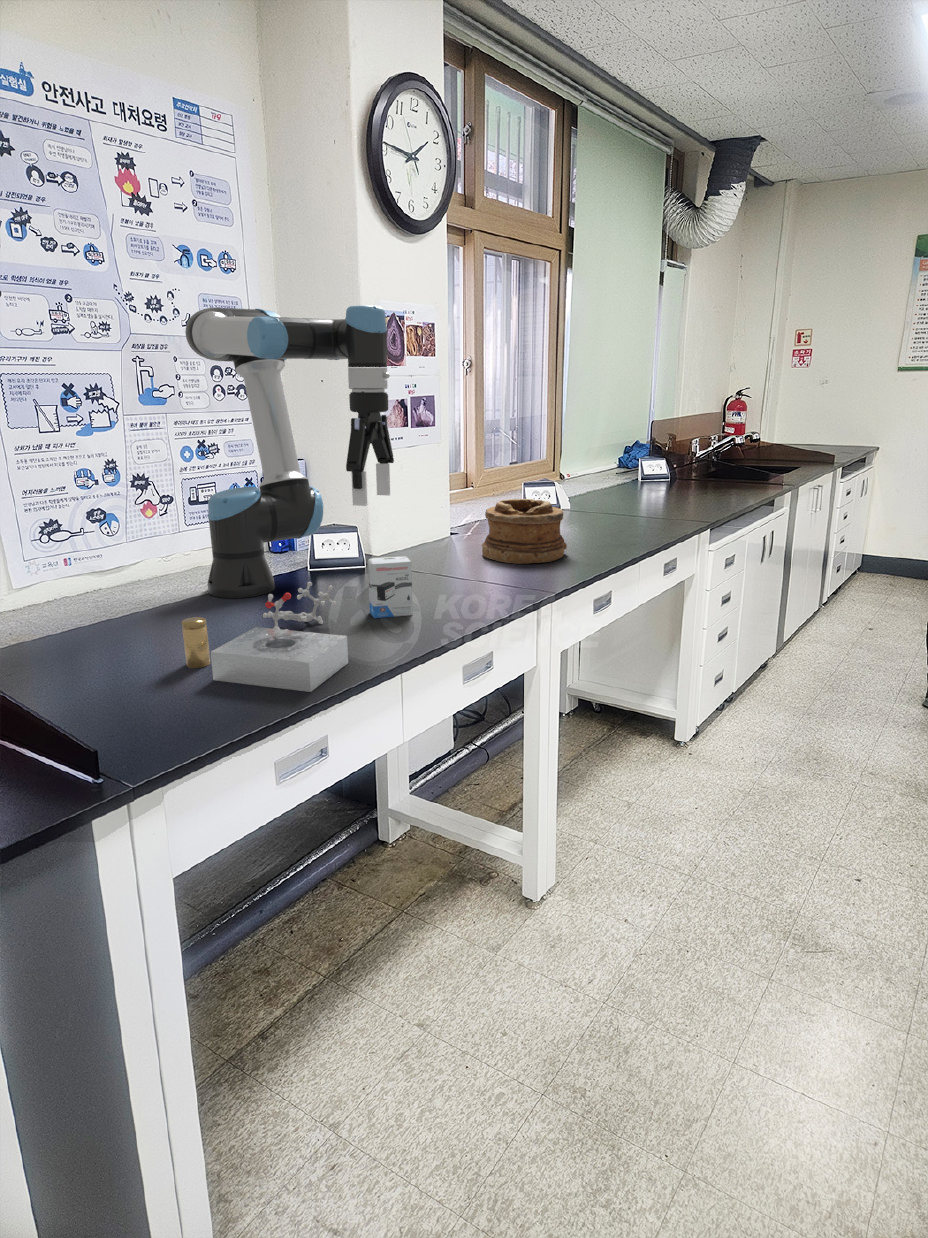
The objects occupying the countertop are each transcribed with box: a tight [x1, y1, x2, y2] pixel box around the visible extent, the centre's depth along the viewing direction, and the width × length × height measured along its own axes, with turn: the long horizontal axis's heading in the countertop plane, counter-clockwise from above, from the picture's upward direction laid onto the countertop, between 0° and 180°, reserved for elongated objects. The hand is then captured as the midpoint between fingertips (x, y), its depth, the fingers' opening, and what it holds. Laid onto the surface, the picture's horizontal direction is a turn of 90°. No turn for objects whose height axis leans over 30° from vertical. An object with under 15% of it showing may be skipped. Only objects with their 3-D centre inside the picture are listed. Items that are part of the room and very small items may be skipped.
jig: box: [210, 626, 349, 693], centre depth 136 cm, size 18×14×5 cm
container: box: [481, 498, 568, 565], centre depth 221 cm, size 22×24×15 cm
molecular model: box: [262, 581, 337, 630], centre depth 157 cm, size 19×10×10 cm, turn 148°
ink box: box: [367, 555, 414, 619], centre depth 168 cm, size 8×5×12 cm, turn 105°
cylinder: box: [181, 616, 211, 669], centre depth 140 cm, size 4×4×8 cm
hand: (372, 500), depth 162 cm, fingers open, 13 cm apart
